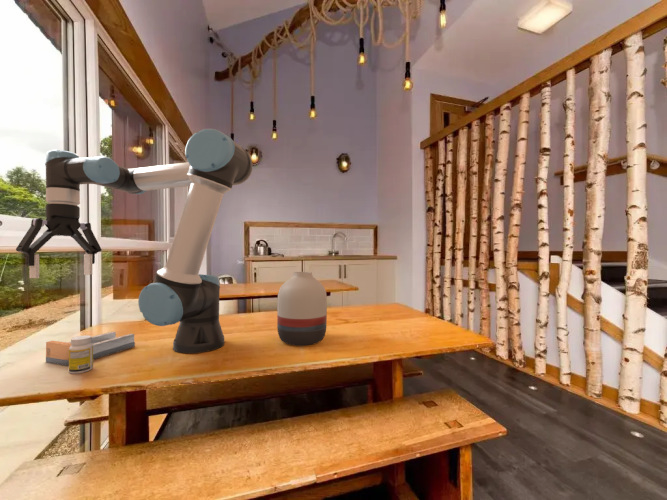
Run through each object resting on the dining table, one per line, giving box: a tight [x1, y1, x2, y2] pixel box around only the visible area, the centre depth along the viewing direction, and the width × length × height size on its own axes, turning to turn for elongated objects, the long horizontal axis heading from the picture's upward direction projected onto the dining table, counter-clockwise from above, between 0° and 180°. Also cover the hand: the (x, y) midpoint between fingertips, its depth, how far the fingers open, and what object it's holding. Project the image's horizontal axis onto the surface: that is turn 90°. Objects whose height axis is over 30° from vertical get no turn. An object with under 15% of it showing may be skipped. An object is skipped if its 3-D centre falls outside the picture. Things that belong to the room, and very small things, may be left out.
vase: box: [276, 271, 328, 347], centre depth 105 cm, size 17×17×24 cm
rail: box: [45, 331, 136, 367], centre depth 90 cm, size 10×18×6 cm, turn 163°
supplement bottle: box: [68, 334, 94, 375], centre depth 77 cm, size 5×5×8 cm
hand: (63, 276), depth 90 cm, fingers open, 13 cm apart
